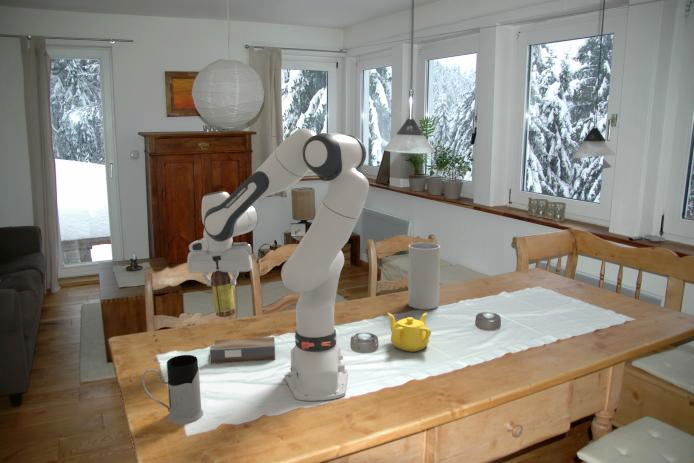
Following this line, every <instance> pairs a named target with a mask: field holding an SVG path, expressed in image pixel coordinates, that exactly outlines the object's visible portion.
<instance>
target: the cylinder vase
mask: <svg viewBox="0 0 694 463" xmlns="http://www.w3.org/2000/svg"><path fill="white" fill-rule="evenodd" d="M440 263H441V245H439V244H437V243H432V242H415V243H410V244H408V272H407V273H408V278H407V280H408V282H407V283H408V284H407V285H408V287H407V288H408V289H407V290H408V292H407V293H408V294H407V304H408V307H410V308H413V309H416V310H423V311H424V310H427V311H428V310H433V309H434V310H435V309H437V308H438V307H439V304H440V277H441V276H440V275H441V274H440V273H441V271H440V268H441V266H440V265H441V264H440Z"/></svg>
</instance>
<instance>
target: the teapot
mask: <svg viewBox="0 0 694 463" xmlns="http://www.w3.org/2000/svg"><path fill="white" fill-rule="evenodd" d="M387 315H388V316H389V319H390V332H391V335H390V342H391V343H392V346H393V347H395V348H397V349H399V350H402V351H405V352H418V351H421V350H423V349H425V348H427V346H428V344H429V343H430V337H431V335H432V330H431V329H430V328H429V327H426V318H427V315H428V312H424V313H422V315H421V317H420V320H418V319H414V317H412V316H411V317H410V316H409V317H406V318H402V319H399V320H398V321H396V319H395V317H394V315H393V314H392V313H390V312H387Z"/></svg>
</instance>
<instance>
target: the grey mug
mask: <svg viewBox="0 0 694 463" xmlns="http://www.w3.org/2000/svg"><path fill="white" fill-rule="evenodd" d="M151 371H152V372H155V373H157V375H158V377H159V382H160V384H161V385H167V395H168V405H167V404H166V403H164V402H162V401H160V400H158V399H157V398H155V397H154V396H153V395H152V394H150V392H149V391H148V390H147V387H146V385H145V384H146V383H145V380H144V379H145V378H144V377H145V375H146V374H147V373H149V372H151ZM166 372H167V381H163V380H162V375H161V373H160V371H159V370H157V369H155V368H150V369H149V368H148V369H147V370H146V371H144V372H143V374H142V377H141V378H142V379H141V381H142V387H143V388H144V391H145V393H146V394H147V397H149V398H150V399H151V400H153V401H154V402H156V403H158V404H159V405H161V406H163V407H165V408H166V409H167V412H168V413H169V414H168V417H167V419H168V421H169V422H170V423H171V424H175V425H186V424H187V425H188V424H192V423H195V422H197V421H199V420H200V419H201V418H203V416H204V410H203V409H202V401H201V400H202V398H201V385H200V384H201V383H200V382H201V381H200V367H199V363H198V357H196V356H195V355H192V354H191V355H190V354H182V355H176V356H173V357H171V358H169V359H168V360H167V361H166Z"/></svg>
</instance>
